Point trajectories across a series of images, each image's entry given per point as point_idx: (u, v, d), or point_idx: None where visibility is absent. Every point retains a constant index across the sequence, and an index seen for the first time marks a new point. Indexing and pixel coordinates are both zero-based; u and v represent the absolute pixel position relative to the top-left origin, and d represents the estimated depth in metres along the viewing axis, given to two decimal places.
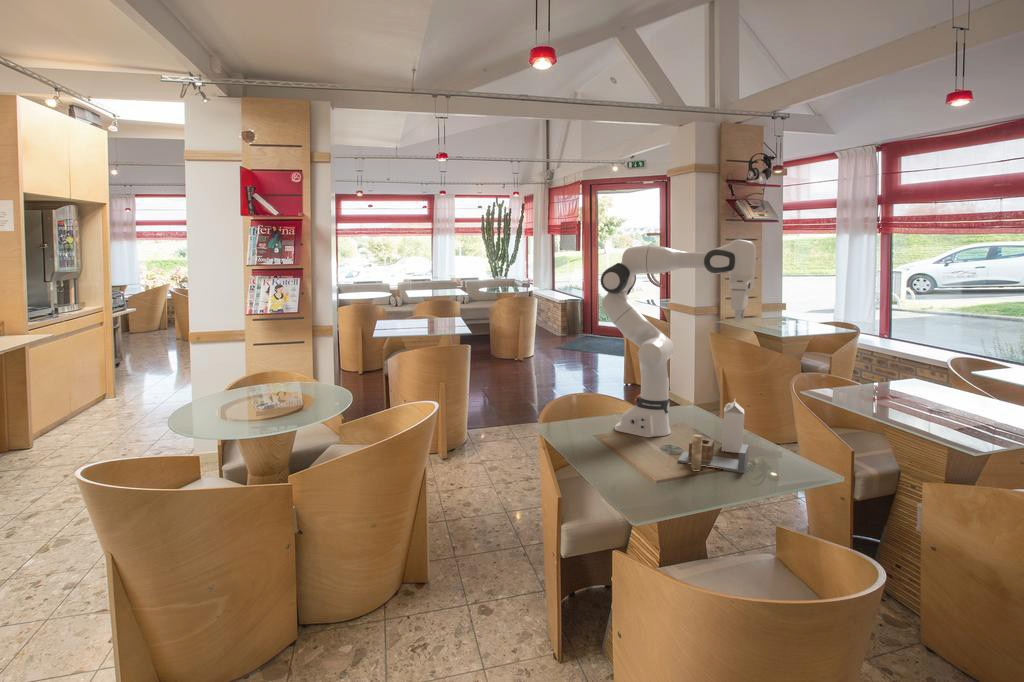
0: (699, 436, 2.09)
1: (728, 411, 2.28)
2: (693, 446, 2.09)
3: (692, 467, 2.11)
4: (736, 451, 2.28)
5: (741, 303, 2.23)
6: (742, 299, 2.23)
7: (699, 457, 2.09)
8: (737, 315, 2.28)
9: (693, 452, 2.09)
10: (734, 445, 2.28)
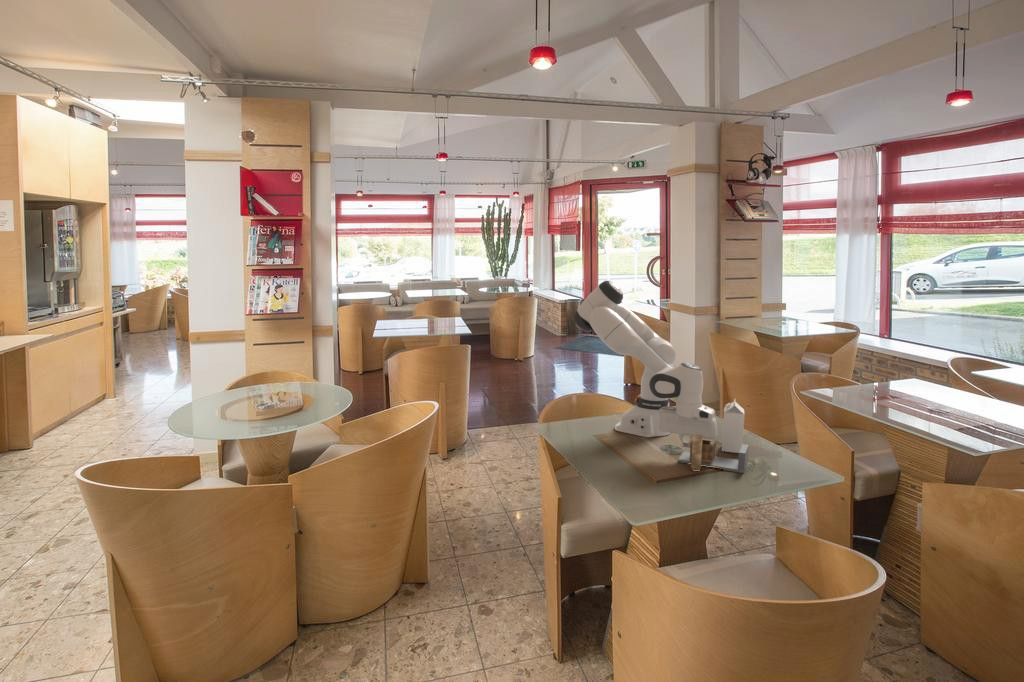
0: (699, 436, 2.09)
1: (728, 411, 2.28)
2: (693, 446, 2.09)
3: (692, 467, 2.11)
4: (736, 451, 2.28)
5: None
6: None
7: (699, 457, 2.09)
8: (691, 441, 2.20)
9: (693, 452, 2.09)
10: (734, 445, 2.28)
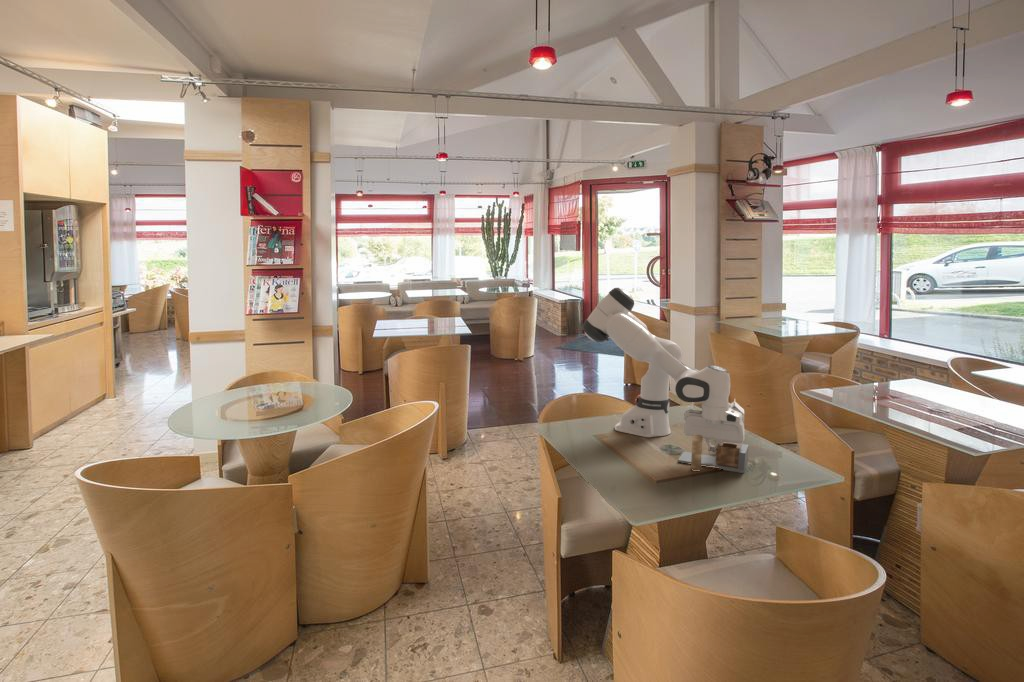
0: (699, 436, 2.09)
1: None
2: (693, 446, 2.09)
3: (692, 467, 2.11)
4: None
5: (744, 434, 2.13)
6: None
7: (699, 457, 2.09)
8: (717, 445, 2.16)
9: (693, 452, 2.09)
10: None
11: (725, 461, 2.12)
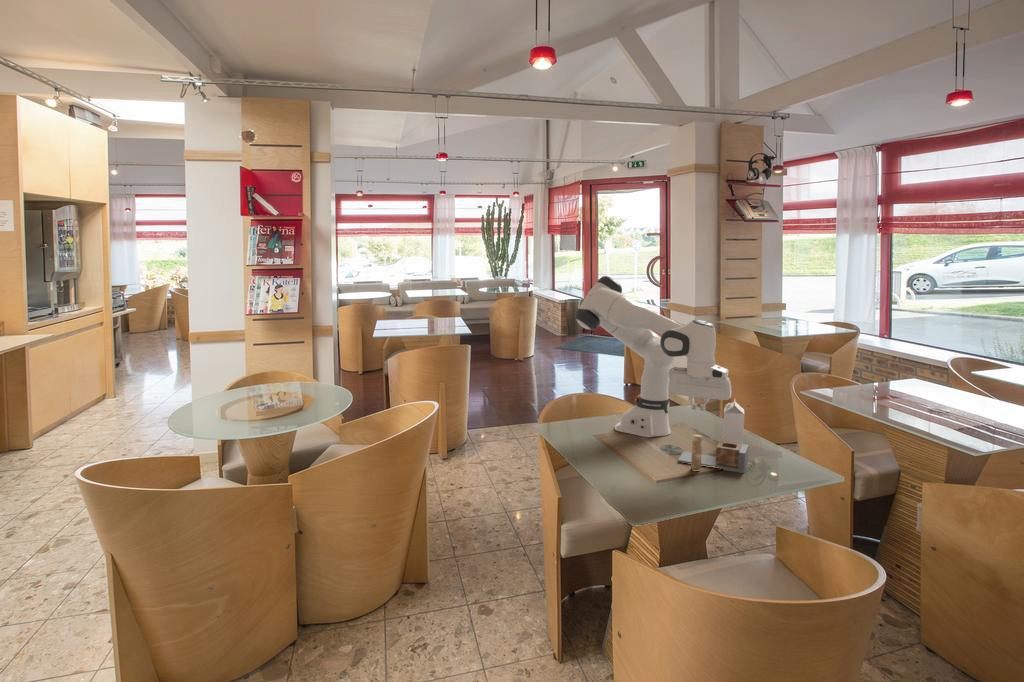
0: (699, 436, 2.09)
1: (728, 411, 2.28)
2: (693, 446, 2.09)
3: (692, 467, 2.11)
4: None
5: None
6: None
7: (699, 457, 2.09)
8: None
9: (693, 452, 2.09)
10: None
11: (725, 461, 2.12)
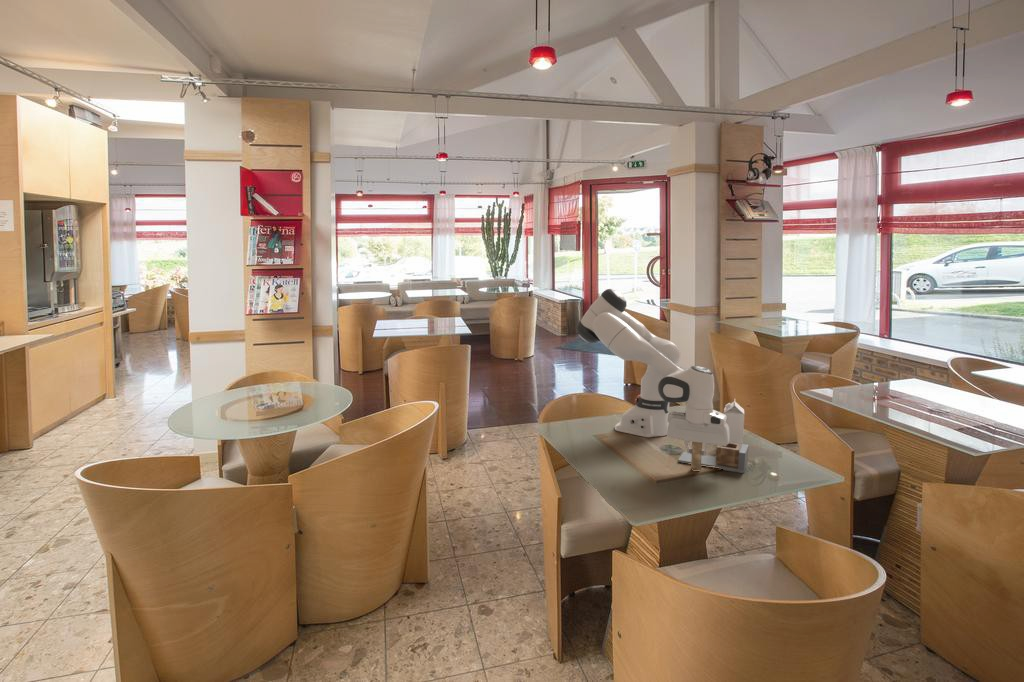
0: None
1: (728, 411, 2.28)
2: (693, 446, 2.09)
3: (692, 467, 2.10)
4: None
5: None
6: None
7: (699, 457, 2.09)
8: None
9: (693, 452, 2.09)
10: None
11: (725, 461, 2.12)
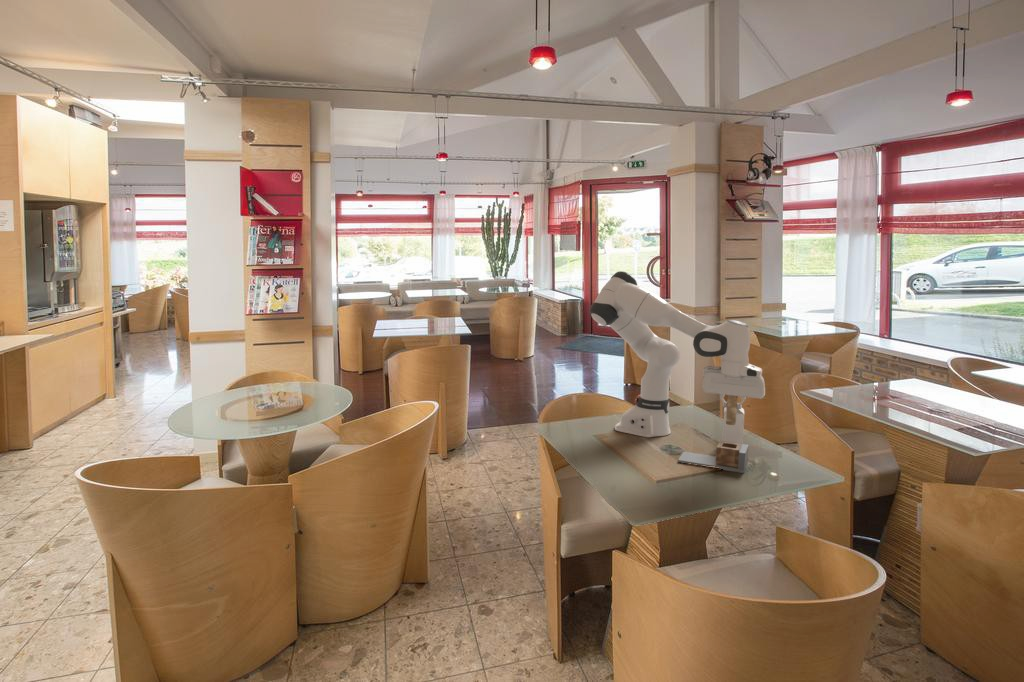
0: None
1: None
2: (728, 399, 2.11)
3: (727, 421, 2.12)
4: None
5: None
6: (764, 385, 2.08)
7: (734, 410, 2.11)
8: (742, 402, 2.10)
9: (728, 405, 2.11)
10: None
11: (725, 461, 2.12)
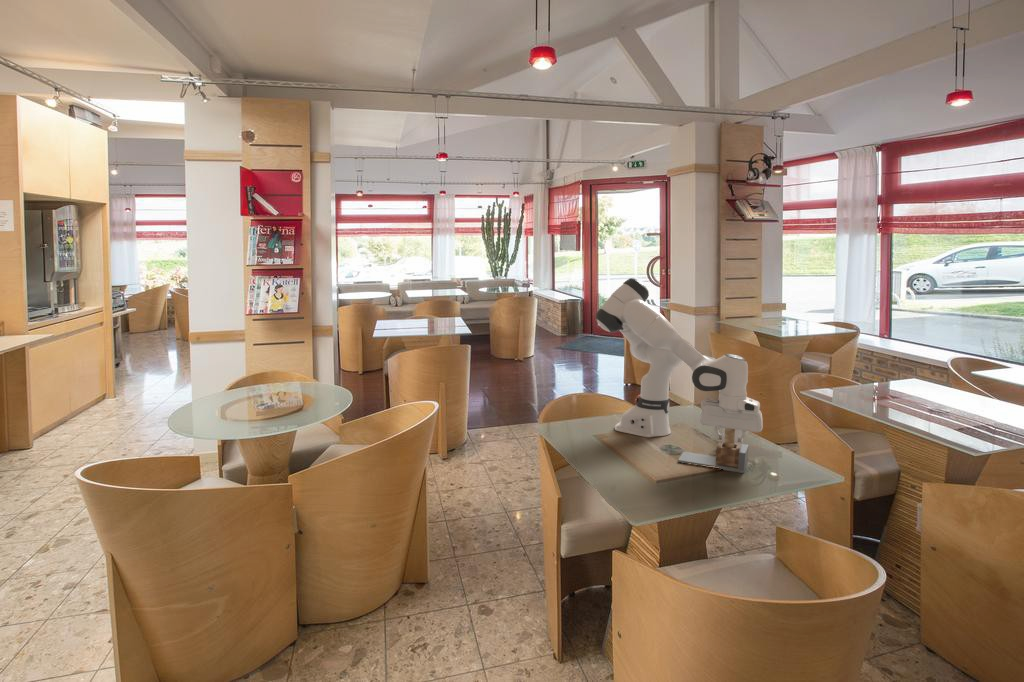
0: None
1: None
2: (726, 435, 2.13)
3: None
4: None
5: (762, 423, 2.10)
6: None
7: (732, 446, 2.13)
8: (743, 436, 2.12)
9: (726, 441, 2.13)
10: None
11: (725, 461, 2.12)
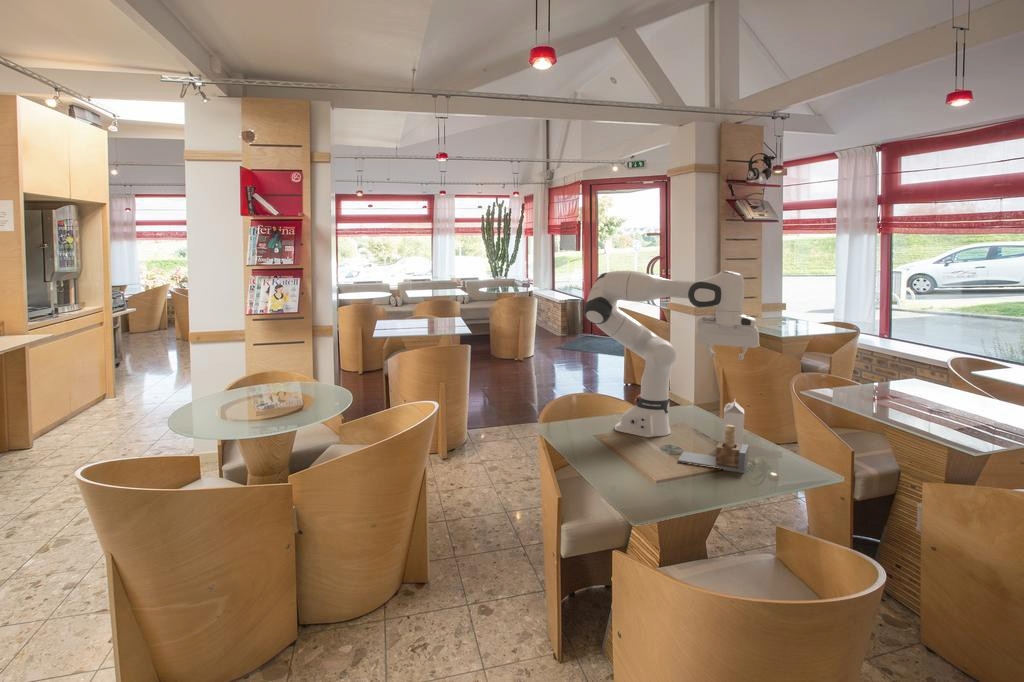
0: (732, 426, 2.13)
1: (728, 411, 2.28)
2: (726, 436, 2.13)
3: None
4: None
5: None
6: None
7: (732, 447, 2.13)
8: (744, 353, 2.11)
9: (726, 442, 2.13)
10: None
11: (725, 461, 2.12)
